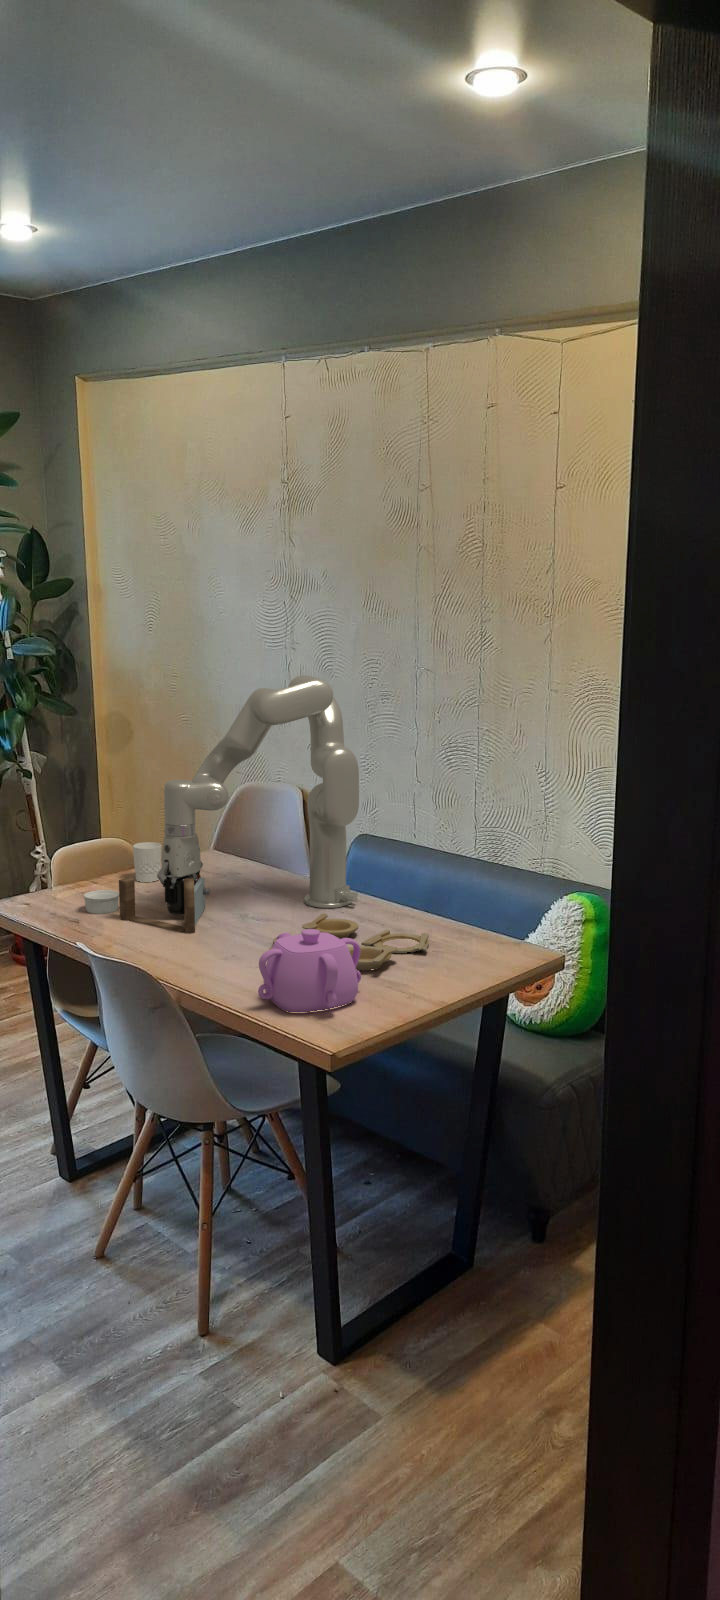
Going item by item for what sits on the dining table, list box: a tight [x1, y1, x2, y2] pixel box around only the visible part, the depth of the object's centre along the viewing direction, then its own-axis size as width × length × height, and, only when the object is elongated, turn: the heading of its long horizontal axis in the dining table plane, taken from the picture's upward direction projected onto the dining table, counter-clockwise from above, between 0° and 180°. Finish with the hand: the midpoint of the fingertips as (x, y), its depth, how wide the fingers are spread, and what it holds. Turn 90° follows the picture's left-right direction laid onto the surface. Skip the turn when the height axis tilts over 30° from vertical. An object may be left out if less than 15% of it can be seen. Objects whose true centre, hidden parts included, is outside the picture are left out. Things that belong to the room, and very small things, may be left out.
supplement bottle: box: [166, 875, 194, 916], centre depth 279 cm, size 7×7×12 cm
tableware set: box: [268, 913, 430, 971], centre depth 256 cm, size 35×29×4 cm
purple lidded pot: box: [257, 929, 362, 1013], centre depth 224 cm, size 19×21×14 cm
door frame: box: [118, 877, 196, 934], centre depth 272 cm, size 23×3×13 cm, turn 58°
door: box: [194, 877, 211, 925], centre depth 277 cm, size 17×3×8 cm, turn 179°
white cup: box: [132, 841, 162, 883], centre depth 315 cm, size 8×8×10 cm
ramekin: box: [83, 889, 119, 915], centre depth 285 cm, size 9×9×4 cm
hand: (180, 899), depth 279 cm, fingers closed on supplement bottle, 6 cm apart
